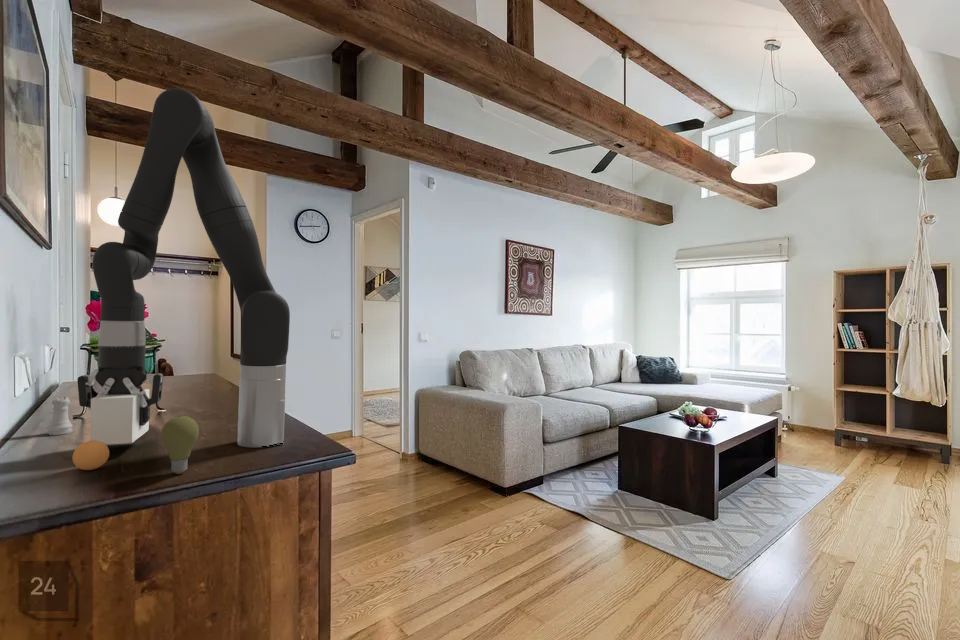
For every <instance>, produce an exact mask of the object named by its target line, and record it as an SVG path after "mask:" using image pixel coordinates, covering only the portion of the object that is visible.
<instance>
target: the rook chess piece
mask: <svg viewBox="0 0 960 640" xmlns="http://www.w3.org/2000/svg"><path fill="white" fill-rule="evenodd" d="M70 403H71V400H70V399H69V397H68V396H59V397H54V398H53V400H52V401H51V404H52V405H53V408H52V411H53V415H52V419H51V422H50V423H49V425H48V426H47V432H46V434H47V435H48V434H49V436H64V435H68V434H71V433H73V431H74V429H73V423H71V420H70V419H69V404H70Z"/></svg>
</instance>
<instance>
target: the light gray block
mask: <svg viewBox="0 0 960 640" xmlns="http://www.w3.org/2000/svg"><path fill="white" fill-rule="evenodd" d="M143 389H144V390H145V392H146V395H147V396H148V398H149V399H150V388H143ZM139 390H140V389H139ZM96 396H97V395H96ZM96 396H95V397H92V399H91V408H90V428H89V429H90V430H89V432H90V433H89V435H90V436H89V439H90V440H89V441H100V442H103V443H104V444H105V445H106V446H108V445H123V444H133V443H134V442H135V441H136V440H138V439H139V438H140V437H141V436H143V435H145V433H146V432H148V431H149V429H150V427H149V426H150V420H149V421H148V422H147V423H146V424H145V425H144V426H140V425H139V411H140V407H141V406H140V404H139V402H140V397H139V394H136V395H132V394H116V395H111V394H109V393H107V395H104V396H97V397H96Z"/></svg>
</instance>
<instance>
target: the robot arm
mask: <svg viewBox="0 0 960 640" xmlns="http://www.w3.org/2000/svg"><path fill="white" fill-rule="evenodd" d="M181 160H183V161H184V163H185V165H186V168H187V170H188V173H189V176H190V179H191V180H190V181H191V185H192V190H193V196H194V202H195V206H196V210H197V213H198V215H199V218H200V220H201V222H202V225H203V228H204V230H205V233H206V234H207V237H208V238H209V241H210V243H211V245H212V246H213V249H214V251H215V253H216V255H217V256H218V258H219V260H220V262H221V263H222V265H223V267H224V268H225V270H226V273H227V274H228V276H229V278H230V281H231V283H232V286H233V290H234V292H235V295H236V298H237V299H236V300H237V301H238V305H239V306H238V307H239V309H240V315H241V318H242V320H241V321H242V323H241V325H242V326H241V344H240V346H241V347H240V348H241V349H240V352H239V353H240V359H239V361H240V362H239V384H238V385H239V387H238V390H239V391H238V414H237V416H238V417H237V418H238V419H237V445H238V447H244V448H263V447H262V446H267V447H270V446H269V445H273V444H277V443H283V444H284V442H283V441H284V440H285V413H286V411H285V410H286V380H287V379H286V378H287V356H288V352H289V341H290V324H291V323H290V318H291V316H290V314H291V313H290V306H289V304H288V302H287V300H286V299H285V298H284V297H283V296H282V295H281V294H279V293H277V292H276V290H275V288H274V286H273V284H272V282H271V280H270V278H269V276H268V274H267V271H266V267H265V265H264V261H263V258H262V252H261V248H260V244H259V238H258V236H257V231H256V229H255V225H254V223H253V220H252V217H251V215H250V213H249V212H250V211H249V210H248V208H247V205H246V203H245V201H244V198H243V197H242V193H241V191H240V189H239V187H238V186H237V184H236V182H235V180H234V178H233V176H232V175H231V173H230V170H229V168H228V166H227V163H226V162H225V159H224V156H223V152H222V150H221V147H220V143H219V139H218V136H217V133H216V129H215V124H214V121H213V118H212V116H211V113H210V112H209V110H208V109H207V108H206V106H205V105H204V104H203V102H202V101H201V100H200V99H199V98H198V97H197V96H196V95H195V94H194V93H192V92H191V91H189V90H186V89H184V88H179V87H178V88H177V87H176V88H174V87H173V88H169V89H166V90H163V91H162V92H161V93H160V94H159V95H158V96H157V97H156V99H155V101H154V104H153V109H152V113H151V117H150V123H149V128H148V134H147V137H146V142H145V146H144V150H143V153H142V157H141V161H140V163H139V166H138V169H137V171H136V175H135V177H134V180H133V182H132V185H131V187H130V190H129V192H128V194H127V196H126V199H125V201H124V203H123V205H122V208H121V211H120V214H119V215H118V218H117V224H118V226H119V227H120V228H121V229H122V230H123V231H124V235H123V240H122V242H118V241H108V242H104V243H103V244H101V245H99V246H98V248H96V250H95V252H94V254H93V258H92V271H93V276H94V280H95V284H96V288H97V290H98V294H99V297H100V300H101V301H100V303H101V304H100V324H99V330H98V338H97V343H98V356H97V357H98V358H97V364H98V365H97V366H98V368H97V372H96V374H84V375H80V376H78V377H77V378H76V380H77V392H78V402H79V403H78V405H79V407H86V408H89V409H91V399H92V398H93V397H92V396H93V395H92V386H93V385H94V383H95V381H96V382H97V383H98V385H99V386H100V387H101V389H100V390H99V392H98V394H97V395H96V396H95V397H97V396H104V395H107V393H109V394H111V395H116V394H132V395H136V394H139V397H140V402H139V404H140V406H141V407H140V411H139V425H140V426H144V425H145V424H146V423H147V422H148V421H149V422H150V419H151V406H152V405H154V404H157V403H158V402H160V401H161V400H162V392H163V384H164V374H163V373H161V372H159V373H148V372H147V370H146V342H147V341H146V340H147V339H146V338H147V336H146V335H147V333H146V326H145V313H146V312H145V311H146V309H145V306H146V305H145V303H146V302H145V298H144V295H142V294H141V293H140V292H138V291H137V290H136V288H135V284H134V281H138V280H141V279H143V278H145V277H146V276H148V274H150V272H151V270H152V269H153V268H154V265H155V262H156V258H157V251H158V245H159V233H160V231H161V229H162V226H163V224H164V222H165V219H166V218H167V214H168V213H169V209H170V207H171V203H172V200H173V195H174V191H175V184H176V177H177V173H178V170H179V166H180V164H181ZM146 380H148V382H149V384H150V385H152V387H151V396H150V397H149V398H148V396H147V395H146V392H145V390H144V389H145V388H143V385H142V384H143V383H145V381H146ZM139 389H140V390H139ZM277 445H278V444H277ZM273 446H274V445H273Z"/></svg>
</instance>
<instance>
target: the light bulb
mask: <svg viewBox="0 0 960 640" xmlns="http://www.w3.org/2000/svg"><path fill="white" fill-rule="evenodd" d="M160 434H161V440H162V443H163V445H164V447H165V448H166V451H167V453H168V457H169V459H170V463H171V465H170V467H171V468H170V470H171V472H173V473H174V474H175V475H182V474H183V473H184V472H185V471H186V470H187V469H188V460H189V457H190V456H191V453H192V450H193V449H192V448H193V447H194V445H195V444H196V442H197V439H198V437H199V434H200V427H199V425H198V423H197V421H196V420H195V419H194V418H192V417H190V416H185V415H180V416H174V417H172V418H171V419H169V420H168V421H167V422H166V423H165V424H164V426H163V427H162V429H161V433H160Z"/></svg>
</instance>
